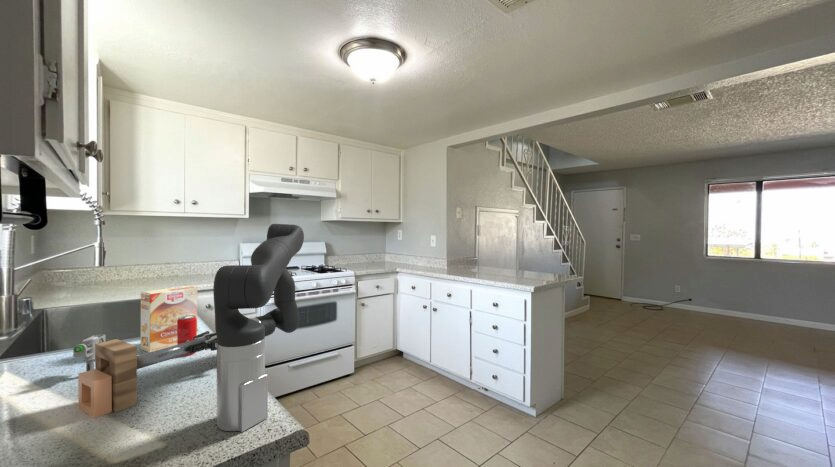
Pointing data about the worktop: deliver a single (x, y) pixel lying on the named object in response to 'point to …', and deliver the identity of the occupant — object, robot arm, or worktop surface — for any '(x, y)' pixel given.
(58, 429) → the worktop surface
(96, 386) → the orange block with hole
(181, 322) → the beverage can
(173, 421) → the worktop surface
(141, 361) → the shaft
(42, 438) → the worktop surface
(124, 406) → the bearing block
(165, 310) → the coffeecake box
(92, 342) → the mechanical component
